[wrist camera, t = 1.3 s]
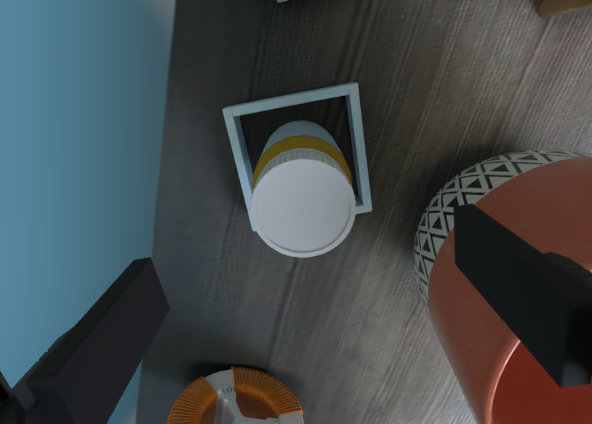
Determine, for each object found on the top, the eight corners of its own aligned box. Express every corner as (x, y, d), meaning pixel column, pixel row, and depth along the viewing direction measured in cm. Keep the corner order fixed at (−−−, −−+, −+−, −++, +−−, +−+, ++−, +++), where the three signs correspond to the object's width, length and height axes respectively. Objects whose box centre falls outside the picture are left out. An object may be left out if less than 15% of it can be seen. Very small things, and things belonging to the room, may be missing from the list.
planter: (379, 139, 34) (499, 233, 14) (590, 110, 33) (1054, 166, 13) (388, 307, 41) (476, 533, 21) (562, 288, 40) (833, 505, 20)
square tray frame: (228, 106, 33) (221, 108, 30) (352, 81, 32) (357, 82, 29) (256, 219, 37) (252, 231, 34) (366, 201, 36) (372, 211, 33)
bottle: (339, 185, 35) (367, 257, 21) (270, 193, 36) (253, 269, 22) (333, 114, 33) (360, 143, 19) (259, 124, 33) (231, 158, 19)
